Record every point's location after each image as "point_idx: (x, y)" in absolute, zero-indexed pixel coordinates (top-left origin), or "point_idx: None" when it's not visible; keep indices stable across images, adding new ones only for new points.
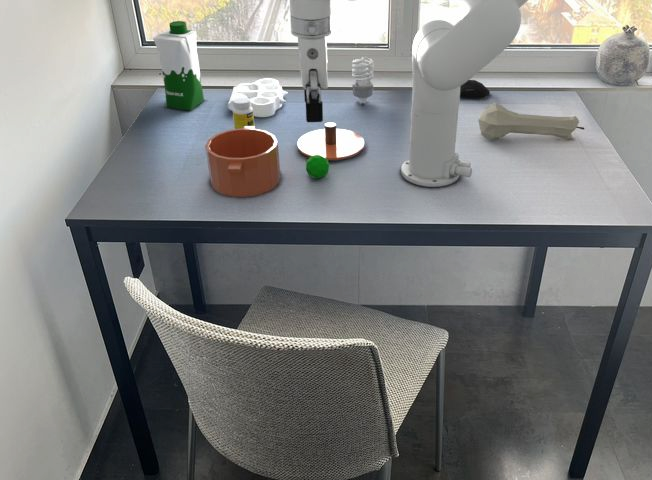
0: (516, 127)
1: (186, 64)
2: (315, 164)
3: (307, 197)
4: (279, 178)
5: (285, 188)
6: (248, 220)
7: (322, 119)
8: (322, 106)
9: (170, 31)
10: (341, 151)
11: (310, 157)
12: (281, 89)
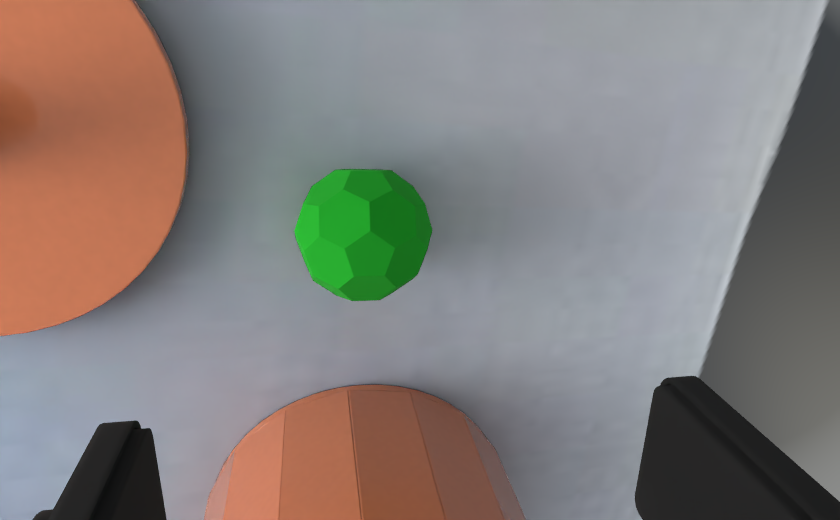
0: None
1: None
2: (419, 257)
3: (549, 263)
4: (379, 389)
5: (454, 355)
6: None
7: (705, 385)
8: (816, 483)
9: None
10: (85, 66)
11: (350, 288)
12: None
